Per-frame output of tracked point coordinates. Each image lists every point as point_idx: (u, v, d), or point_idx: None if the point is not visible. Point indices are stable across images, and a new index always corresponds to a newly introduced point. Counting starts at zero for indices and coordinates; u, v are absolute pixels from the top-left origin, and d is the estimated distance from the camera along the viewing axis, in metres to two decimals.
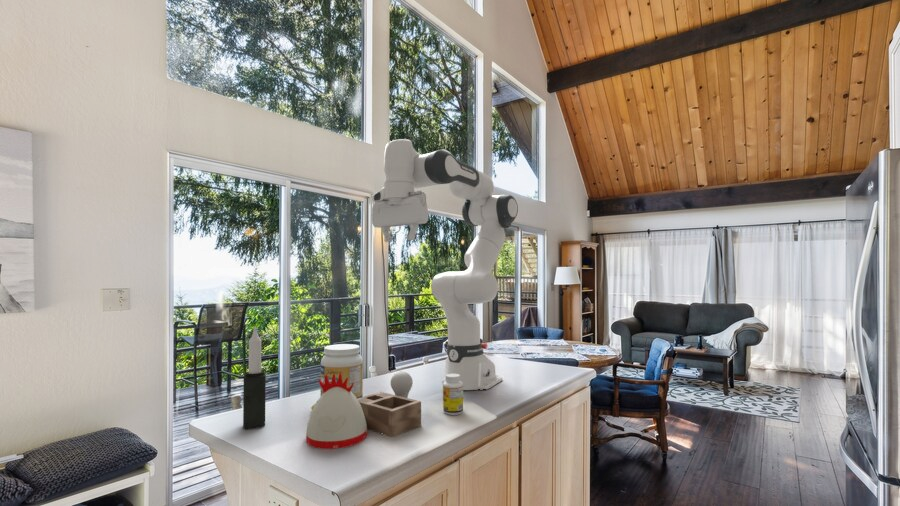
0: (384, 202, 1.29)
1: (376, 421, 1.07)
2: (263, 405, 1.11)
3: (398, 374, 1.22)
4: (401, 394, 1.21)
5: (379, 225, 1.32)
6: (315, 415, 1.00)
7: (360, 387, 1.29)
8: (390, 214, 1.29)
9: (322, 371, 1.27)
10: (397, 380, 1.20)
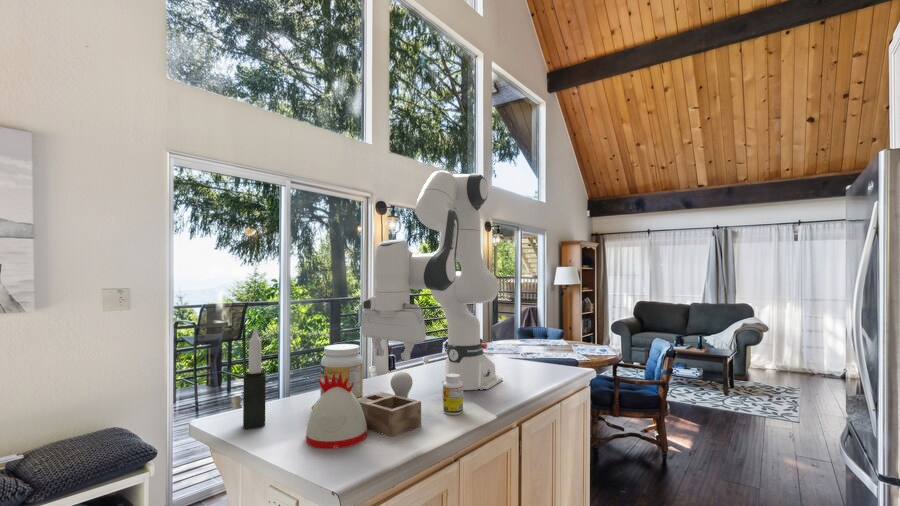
0: (375, 312, 1.12)
1: (376, 421, 1.07)
2: (263, 405, 1.11)
3: (398, 374, 1.22)
4: (401, 394, 1.21)
5: (369, 336, 1.14)
6: (315, 415, 1.00)
7: (360, 387, 1.29)
8: (382, 326, 1.11)
9: (322, 371, 1.27)
10: (397, 380, 1.20)
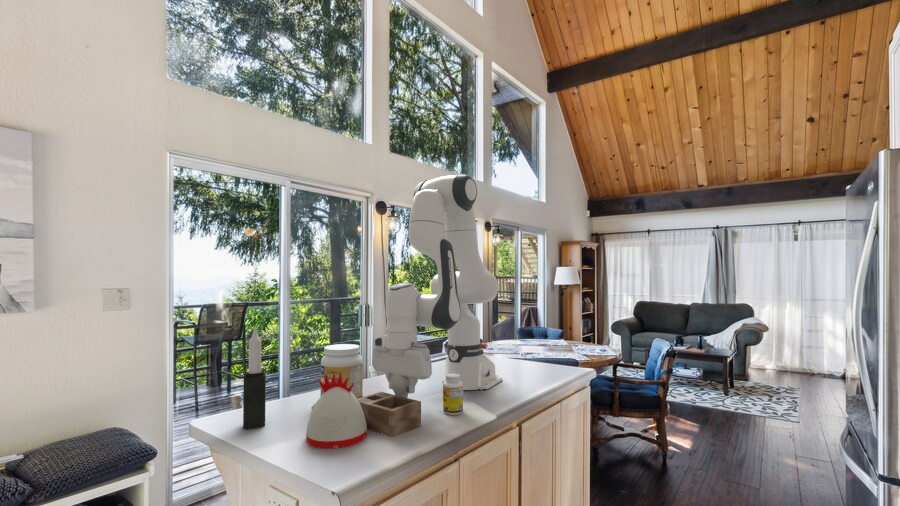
0: (386, 349, 1.24)
1: (376, 421, 1.07)
2: (263, 405, 1.11)
3: None
4: (401, 394, 1.21)
5: (380, 370, 1.26)
6: (315, 415, 1.00)
7: (360, 387, 1.29)
8: (392, 362, 1.23)
9: (322, 371, 1.27)
10: (397, 380, 1.20)
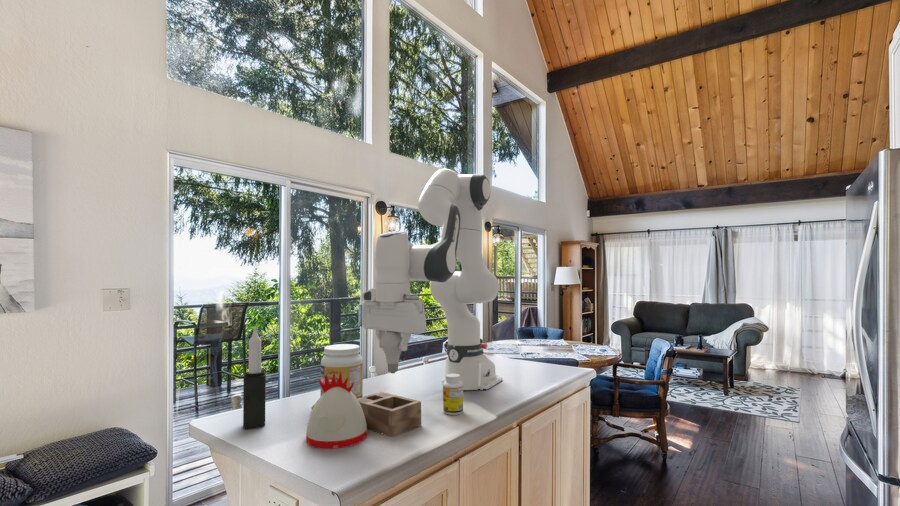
0: (375, 303, 1.12)
1: (376, 421, 1.07)
2: (263, 405, 1.11)
3: (389, 332, 1.10)
4: (392, 354, 1.09)
5: (370, 328, 1.15)
6: (315, 415, 1.00)
7: (360, 387, 1.29)
8: (382, 318, 1.12)
9: (322, 371, 1.27)
10: (388, 338, 1.09)
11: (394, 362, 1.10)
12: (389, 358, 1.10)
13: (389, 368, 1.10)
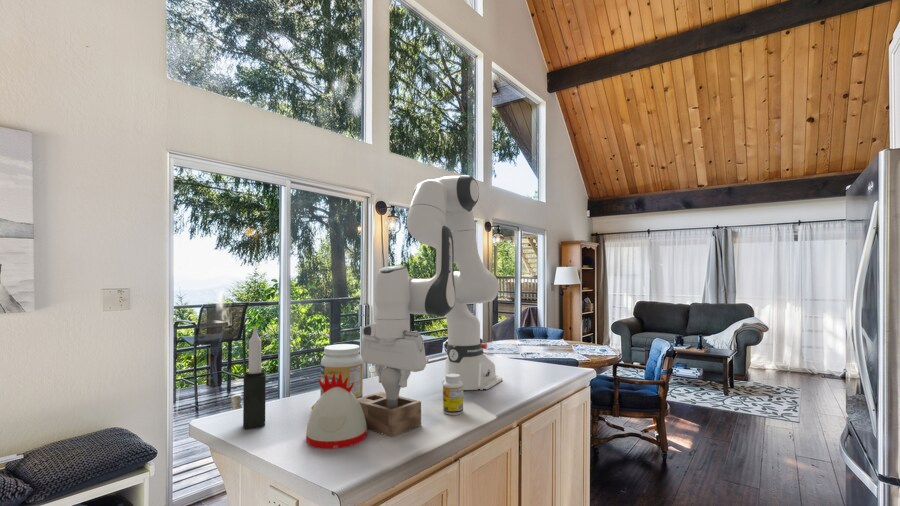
0: (375, 339, 1.12)
1: (376, 421, 1.07)
2: (263, 405, 1.11)
3: (389, 368, 1.10)
4: (392, 390, 1.09)
5: (369, 362, 1.14)
6: (315, 415, 1.00)
7: (360, 387, 1.29)
8: (382, 353, 1.11)
9: (322, 371, 1.27)
10: (387, 374, 1.08)
11: (394, 398, 1.09)
12: (389, 394, 1.09)
13: (389, 404, 1.10)
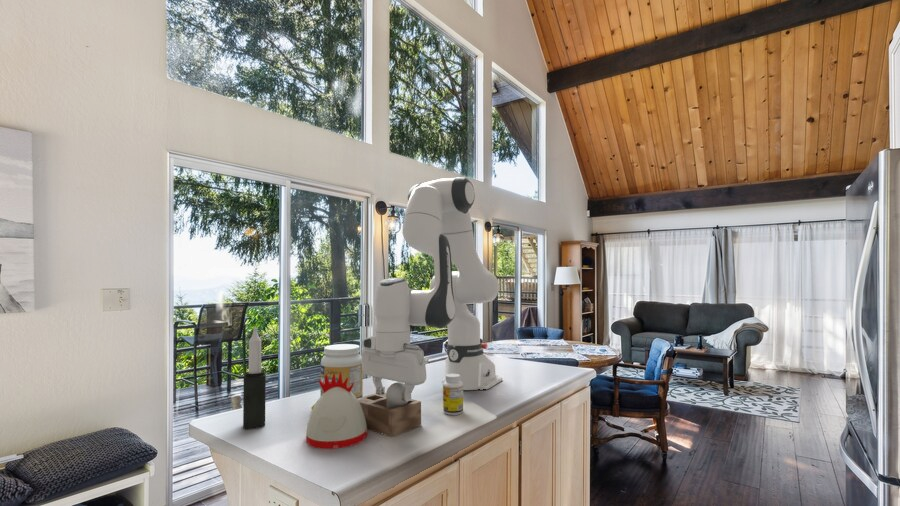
0: (375, 351, 1.11)
1: (376, 421, 1.07)
2: (263, 405, 1.11)
3: (398, 388, 1.09)
4: None
5: (370, 374, 1.14)
6: (315, 415, 1.00)
7: (360, 387, 1.29)
8: (382, 366, 1.11)
9: (322, 371, 1.27)
10: (395, 395, 1.08)
11: None
12: None
13: None
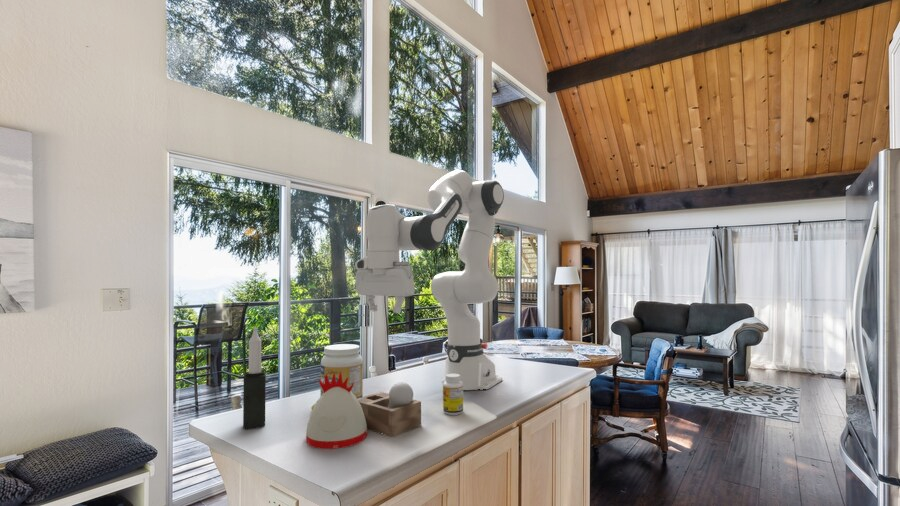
0: (368, 271, 1.22)
1: (376, 421, 1.07)
2: (263, 405, 1.11)
3: (402, 387, 1.09)
4: None
5: (363, 294, 1.25)
6: (315, 415, 1.00)
7: (360, 387, 1.29)
8: (374, 284, 1.22)
9: (322, 371, 1.27)
10: (398, 394, 1.08)
11: None
12: None
13: None
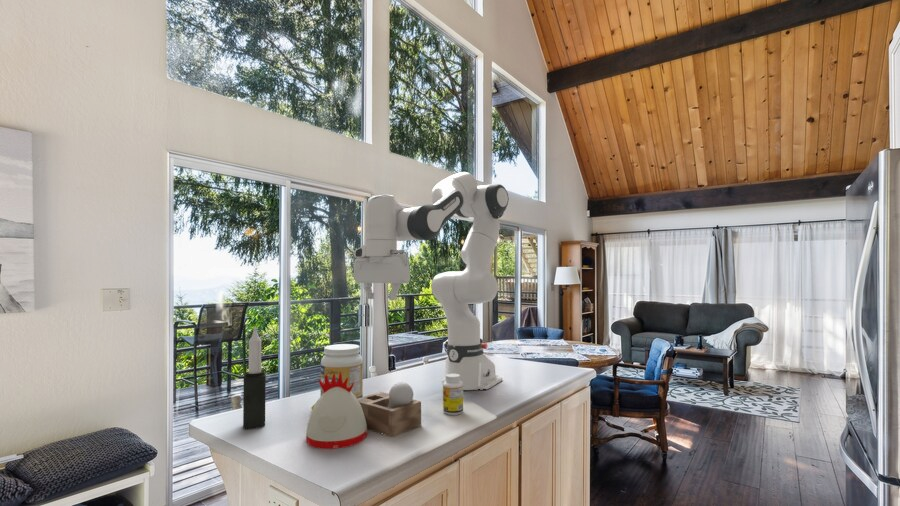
0: (366, 259, 1.25)
1: (376, 421, 1.07)
2: (263, 405, 1.11)
3: (402, 387, 1.09)
4: None
5: (361, 281, 1.28)
6: (315, 415, 1.00)
7: (360, 387, 1.29)
8: (372, 271, 1.25)
9: (322, 371, 1.27)
10: (398, 394, 1.08)
11: None
12: None
13: None
